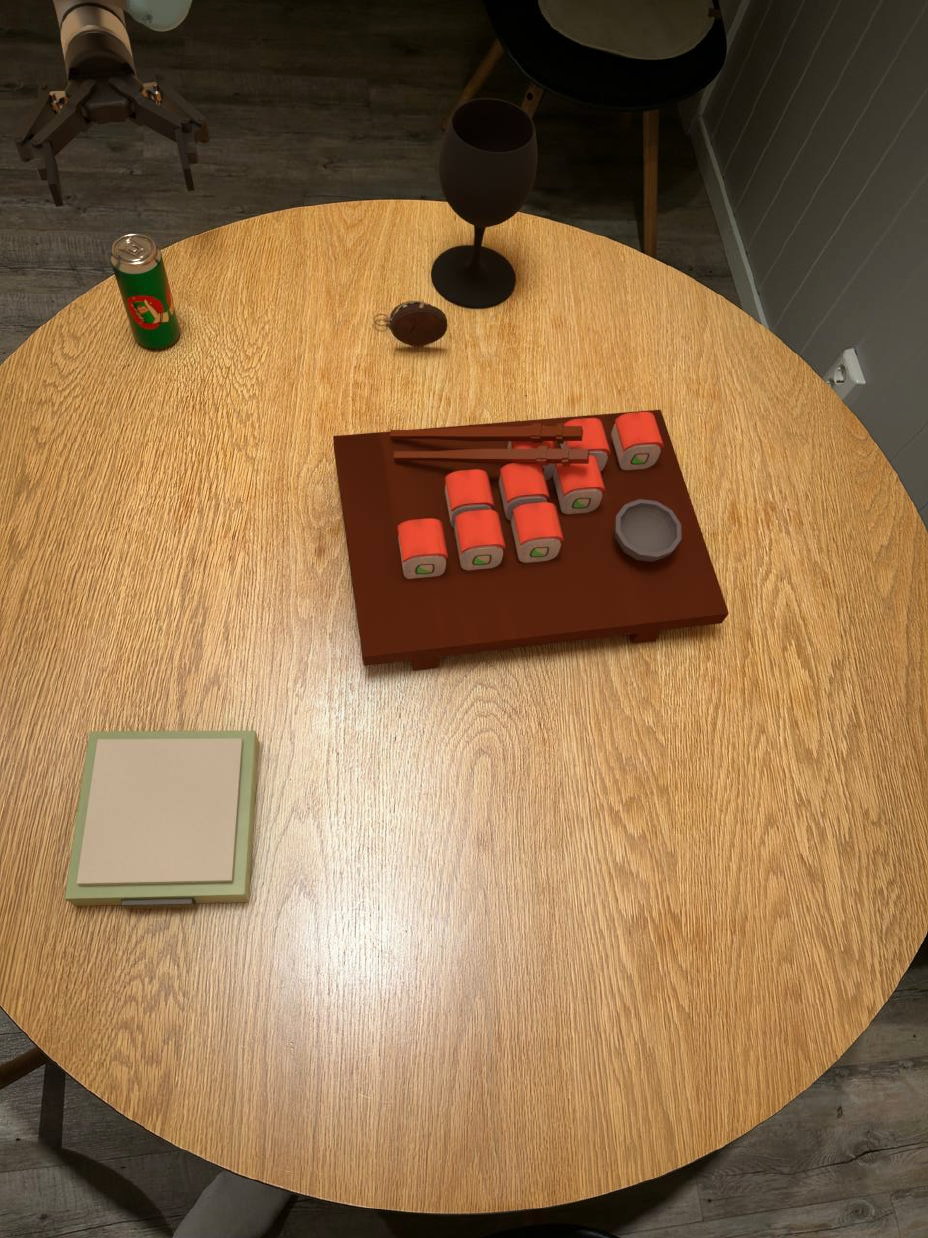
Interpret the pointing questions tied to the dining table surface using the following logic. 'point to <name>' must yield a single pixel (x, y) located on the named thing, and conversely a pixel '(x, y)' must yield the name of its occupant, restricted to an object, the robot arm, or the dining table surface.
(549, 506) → the sushi
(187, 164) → the robot arm
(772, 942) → the dining table surface
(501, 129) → the wine glass
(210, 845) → the scale
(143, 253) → the soda can
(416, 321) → the compass
